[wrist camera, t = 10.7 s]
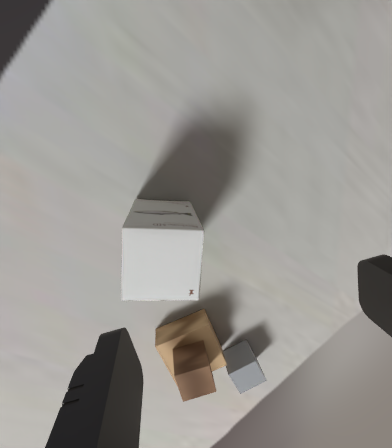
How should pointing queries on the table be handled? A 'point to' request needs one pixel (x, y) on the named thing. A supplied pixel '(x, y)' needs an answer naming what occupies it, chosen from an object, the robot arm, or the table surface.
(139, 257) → the supplement box
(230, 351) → the grey painted cube
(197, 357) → the walnut cube
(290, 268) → the table surface
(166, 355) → the oak base block
